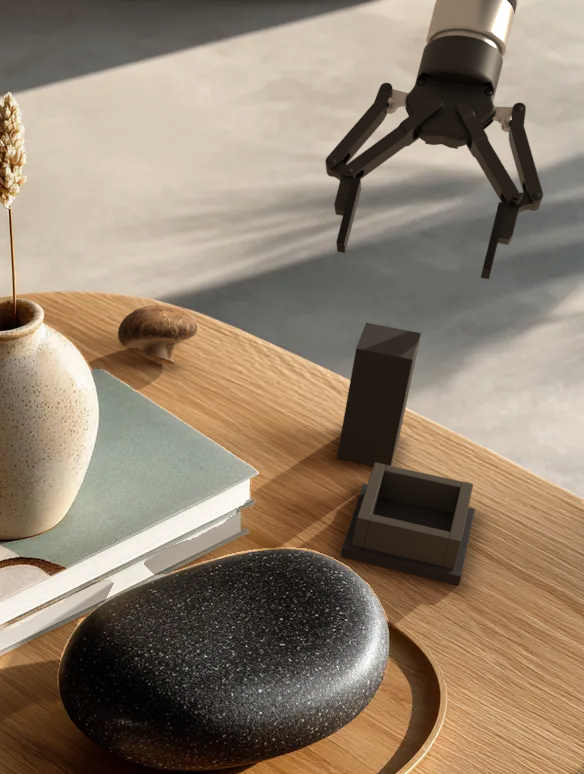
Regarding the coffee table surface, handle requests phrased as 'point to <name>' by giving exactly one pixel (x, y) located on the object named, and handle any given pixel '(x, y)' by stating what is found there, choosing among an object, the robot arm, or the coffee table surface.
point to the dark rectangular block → (378, 394)
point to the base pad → (411, 523)
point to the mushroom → (157, 331)
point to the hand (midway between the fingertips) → (412, 261)
